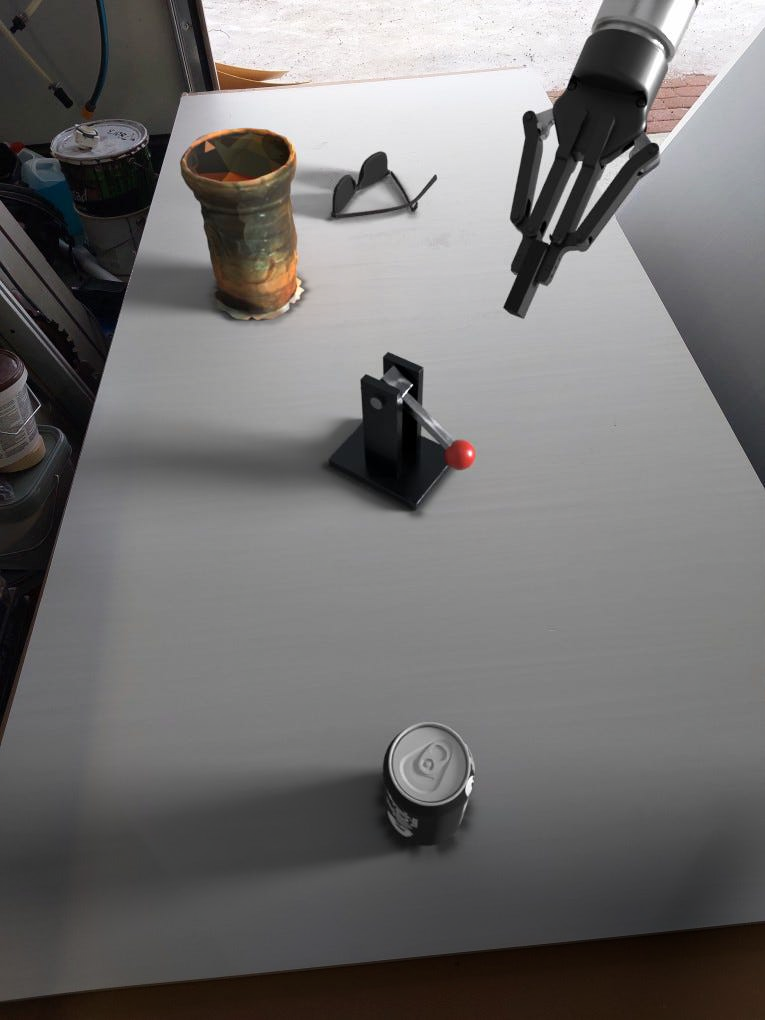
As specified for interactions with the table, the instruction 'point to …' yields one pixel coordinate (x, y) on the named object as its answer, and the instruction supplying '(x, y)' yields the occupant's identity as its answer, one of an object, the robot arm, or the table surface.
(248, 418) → the table surface
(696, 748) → the table surface
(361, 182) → the sunglasses
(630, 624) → the table surface
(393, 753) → the beverage can
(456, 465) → the lever
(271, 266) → the vessel
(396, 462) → the bracket
